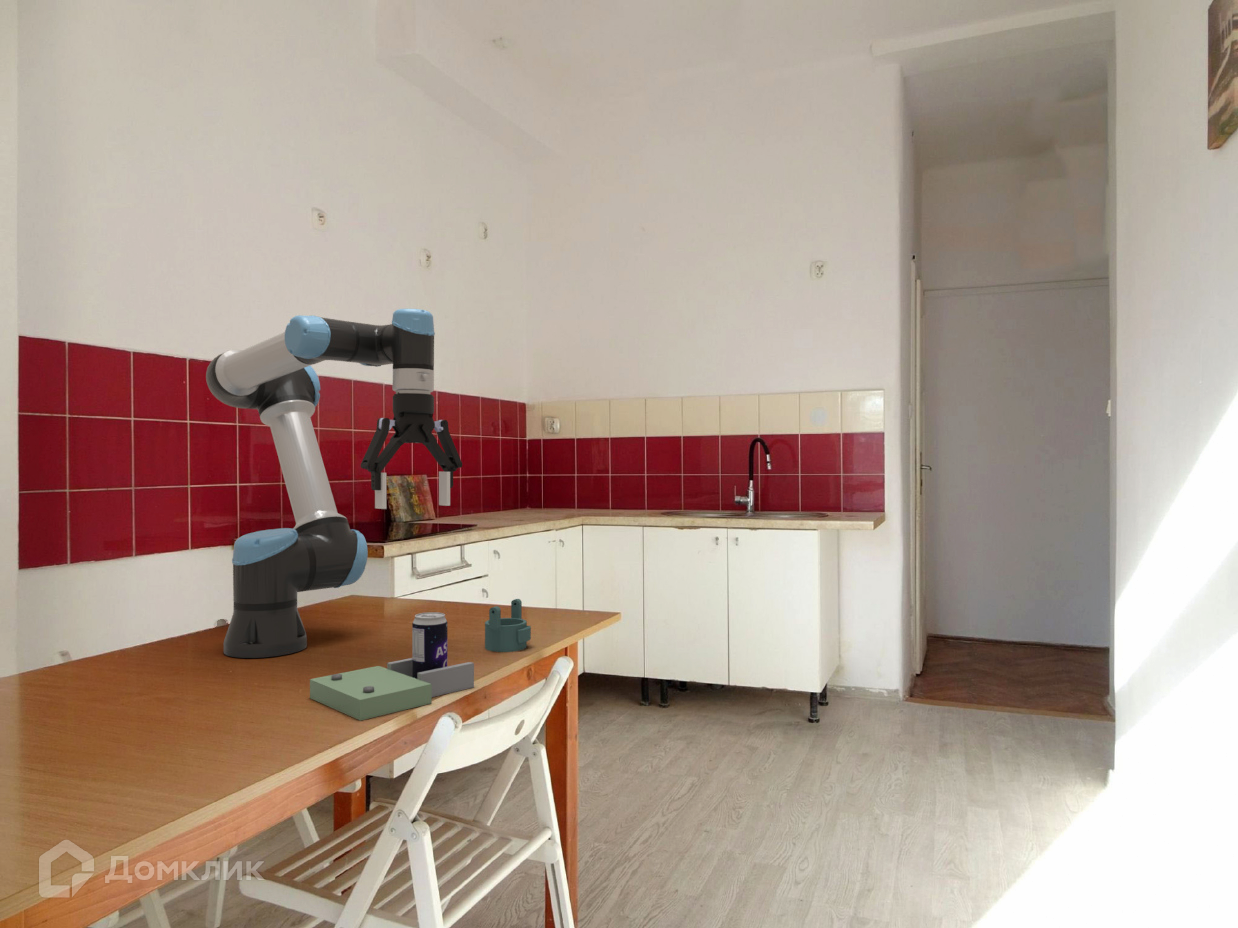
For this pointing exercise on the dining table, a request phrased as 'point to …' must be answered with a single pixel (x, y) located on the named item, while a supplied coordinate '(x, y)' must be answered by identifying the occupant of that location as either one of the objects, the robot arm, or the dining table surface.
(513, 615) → the bracket
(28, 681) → the dining table surface
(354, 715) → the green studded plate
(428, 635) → the beverage can
